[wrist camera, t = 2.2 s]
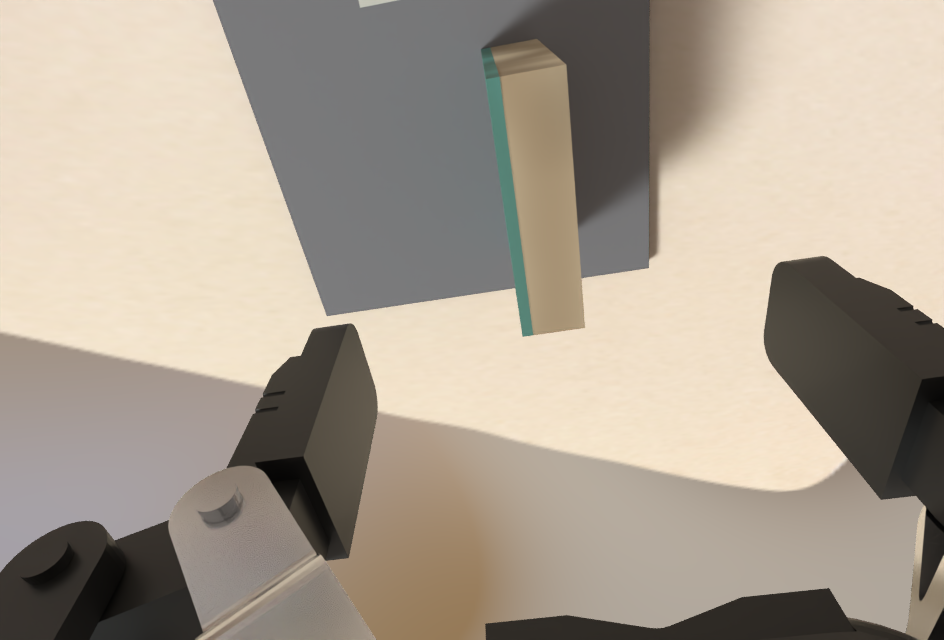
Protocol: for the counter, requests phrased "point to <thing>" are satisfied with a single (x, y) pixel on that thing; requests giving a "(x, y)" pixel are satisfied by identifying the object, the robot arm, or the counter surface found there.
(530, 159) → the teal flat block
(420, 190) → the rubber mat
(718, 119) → the counter surface
